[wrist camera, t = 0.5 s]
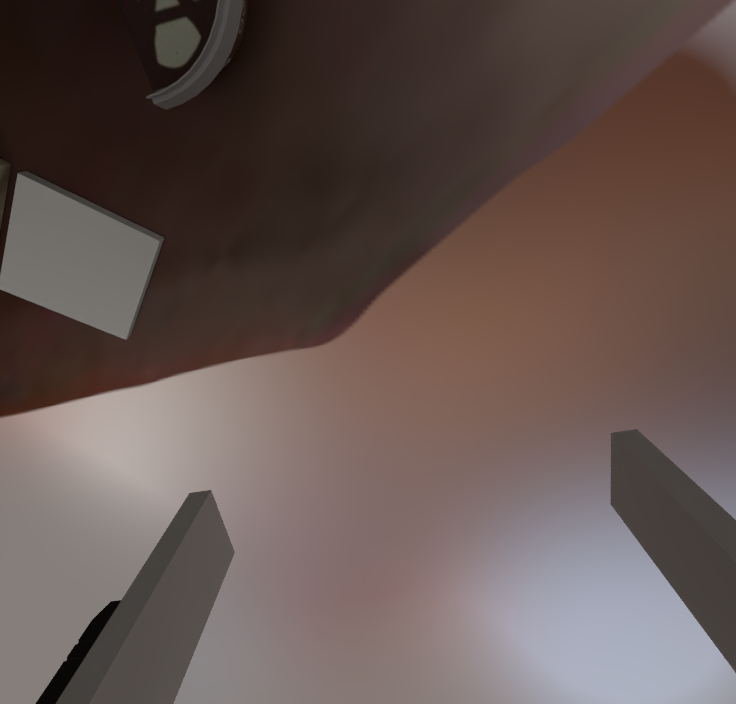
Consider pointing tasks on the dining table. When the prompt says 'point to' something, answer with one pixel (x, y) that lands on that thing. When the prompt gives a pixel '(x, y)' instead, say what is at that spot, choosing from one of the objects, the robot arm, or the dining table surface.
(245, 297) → the dining table surface
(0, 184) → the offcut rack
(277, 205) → the dining table surface
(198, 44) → the food container
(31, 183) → the mat
